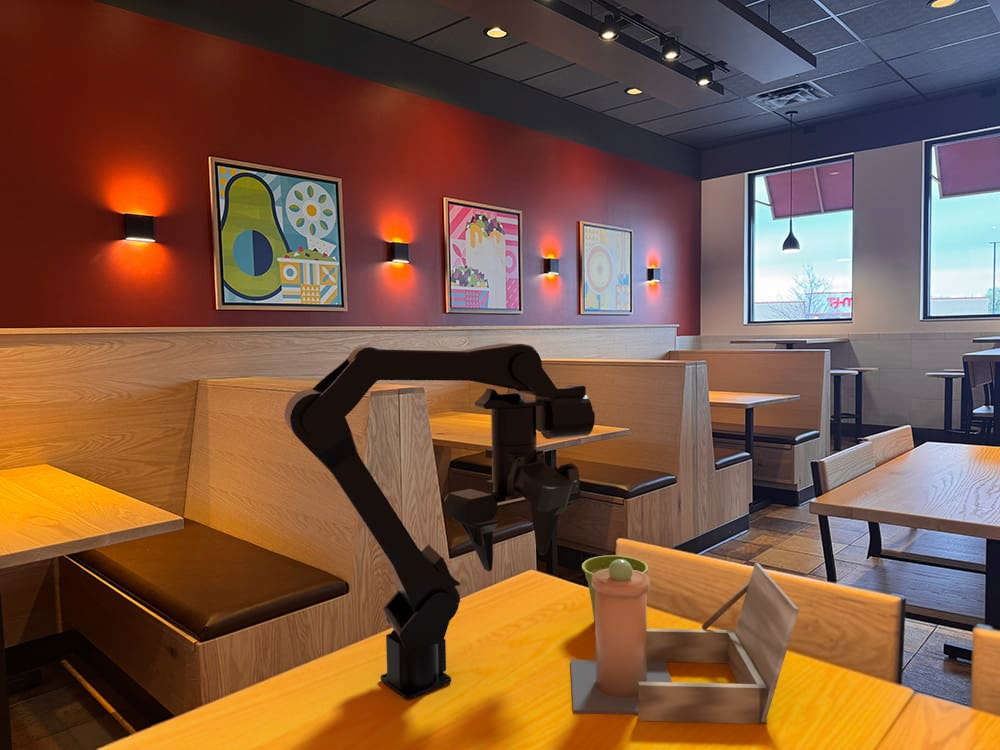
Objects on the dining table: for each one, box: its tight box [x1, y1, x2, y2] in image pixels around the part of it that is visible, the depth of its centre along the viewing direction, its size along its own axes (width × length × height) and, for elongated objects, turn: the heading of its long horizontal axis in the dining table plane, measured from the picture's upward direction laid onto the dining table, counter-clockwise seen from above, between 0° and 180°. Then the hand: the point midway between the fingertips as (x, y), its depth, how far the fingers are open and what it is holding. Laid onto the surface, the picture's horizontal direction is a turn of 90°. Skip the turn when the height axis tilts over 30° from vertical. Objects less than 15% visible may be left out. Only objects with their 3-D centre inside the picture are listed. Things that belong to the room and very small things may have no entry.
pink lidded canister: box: [592, 559, 651, 697], centre depth 84 cm, size 7×7×15 cm
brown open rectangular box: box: [637, 562, 799, 725], centre depth 83 cm, size 17×15×13 cm
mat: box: [570, 659, 673, 715], centre depth 84 cm, size 12×12×1 cm
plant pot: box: [581, 554, 649, 624], centre depth 102 cm, size 9×9×9 cm
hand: (516, 562), depth 90 cm, fingers open, 9 cm apart
